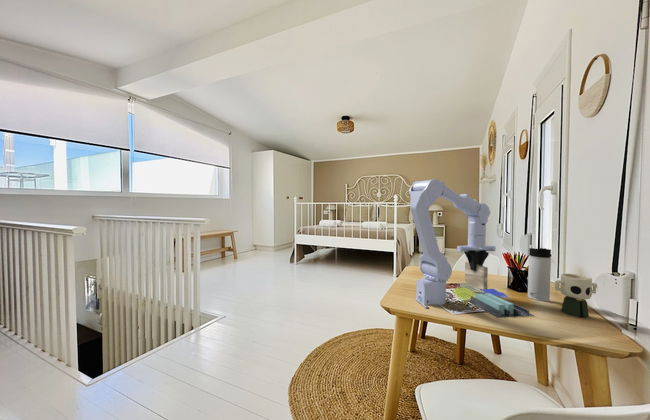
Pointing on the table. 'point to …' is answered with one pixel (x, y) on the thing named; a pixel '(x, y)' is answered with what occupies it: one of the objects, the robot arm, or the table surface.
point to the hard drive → (495, 293)
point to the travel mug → (539, 274)
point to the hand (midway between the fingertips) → (475, 270)
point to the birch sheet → (476, 276)
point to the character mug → (575, 293)
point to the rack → (517, 311)
